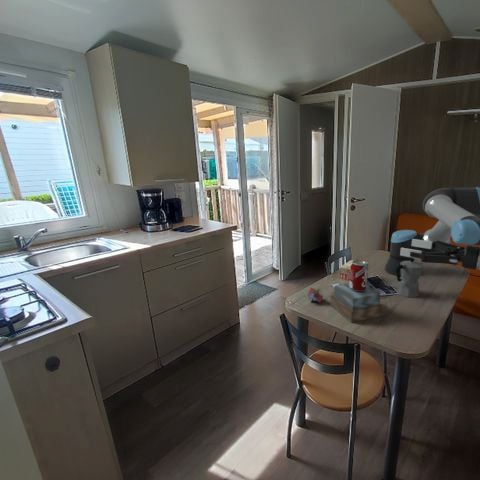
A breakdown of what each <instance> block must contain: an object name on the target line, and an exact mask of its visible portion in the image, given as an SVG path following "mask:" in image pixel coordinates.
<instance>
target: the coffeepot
mask: <svg viewBox="0 0 480 480" xmlns="http://www.w3.org/2000/svg"><path fill="white" fill-rule="evenodd" d="M410 260H411V261H403V262H401V263H400V265H398V266H397V268H396V275H395V276H396V279H397V282H399V283H398V287H397V290H396V291H397V292H396V293H398V294H399V295H400V296H403V297H405V298H417V297H418V296H419V295H420V289H419V288H420V287H419V279H420V277H421V275H422V273H423V272H422V271H423V268H424V262H421V261H415V258H410ZM400 269H401V276H400V271H399V270H400Z"/></svg>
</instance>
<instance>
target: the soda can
mask: <svg viewBox="0 0 480 480" xmlns="http://www.w3.org/2000/svg"><path fill="white" fill-rule="evenodd" d="M366 262H367V261H363V260H353V262H352V265H351V268H350V282H349V287H350V288H351V289H352V290H354V291H359V292H360V291H364V290H366V285H367V284H368V276H367V274H369V265H368V266H367V265H366V264H367V263H368V262H367V263H366ZM367 286H368V285H367Z"/></svg>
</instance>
